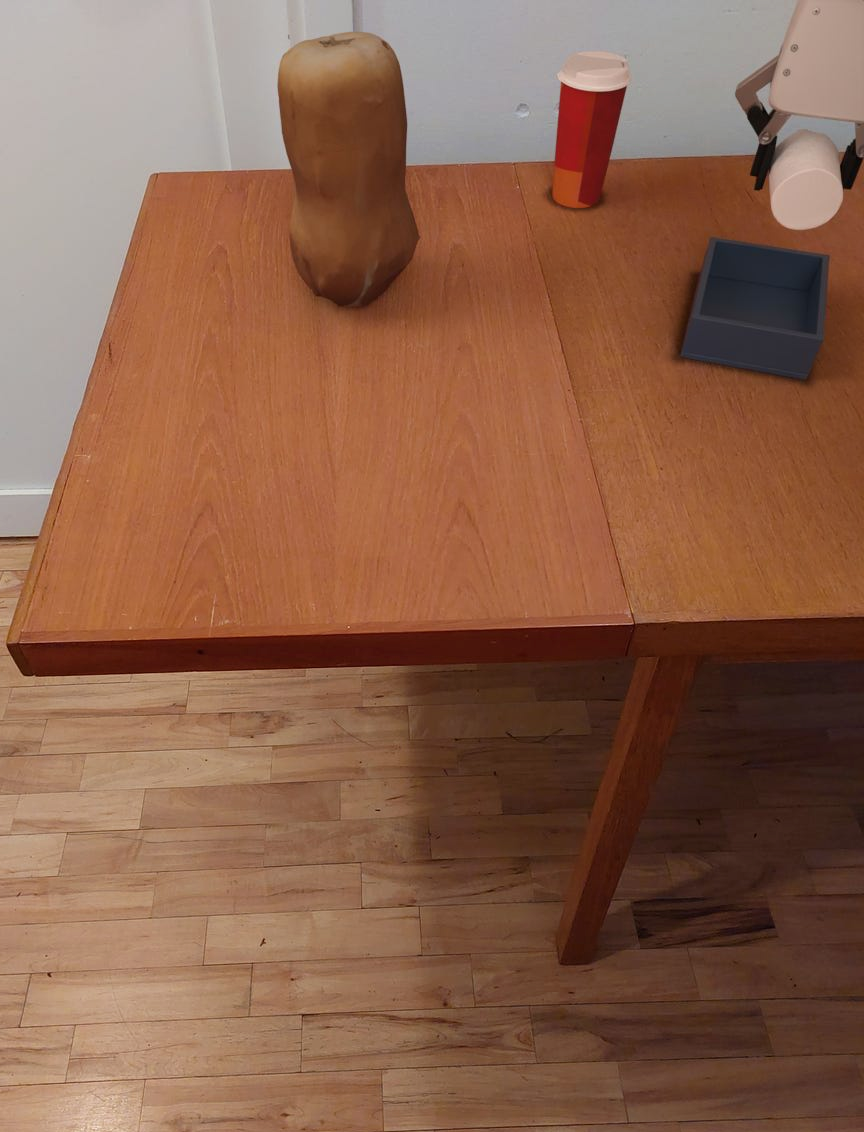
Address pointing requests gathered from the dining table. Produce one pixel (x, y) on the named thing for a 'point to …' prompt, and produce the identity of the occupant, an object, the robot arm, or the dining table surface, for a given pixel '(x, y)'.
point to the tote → (758, 308)
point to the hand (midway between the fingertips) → (797, 187)
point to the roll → (805, 180)
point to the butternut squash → (347, 165)
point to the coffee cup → (587, 124)
